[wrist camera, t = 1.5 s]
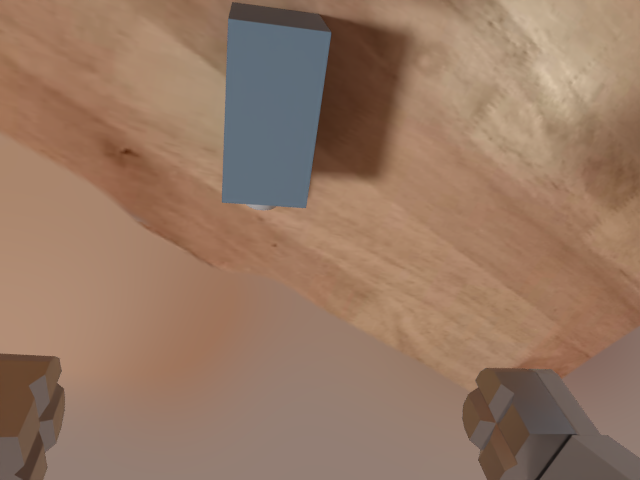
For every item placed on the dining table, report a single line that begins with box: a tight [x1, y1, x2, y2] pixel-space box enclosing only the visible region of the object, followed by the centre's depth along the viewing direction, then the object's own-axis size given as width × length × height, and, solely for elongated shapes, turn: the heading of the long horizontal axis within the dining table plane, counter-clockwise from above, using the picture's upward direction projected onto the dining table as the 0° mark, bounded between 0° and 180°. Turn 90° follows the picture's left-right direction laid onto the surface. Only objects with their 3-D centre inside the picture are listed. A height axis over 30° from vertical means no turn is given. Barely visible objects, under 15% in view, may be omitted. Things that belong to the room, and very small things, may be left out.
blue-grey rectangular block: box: [222, 2, 331, 210], centre depth 26 cm, size 4×11×5 cm, turn 172°
